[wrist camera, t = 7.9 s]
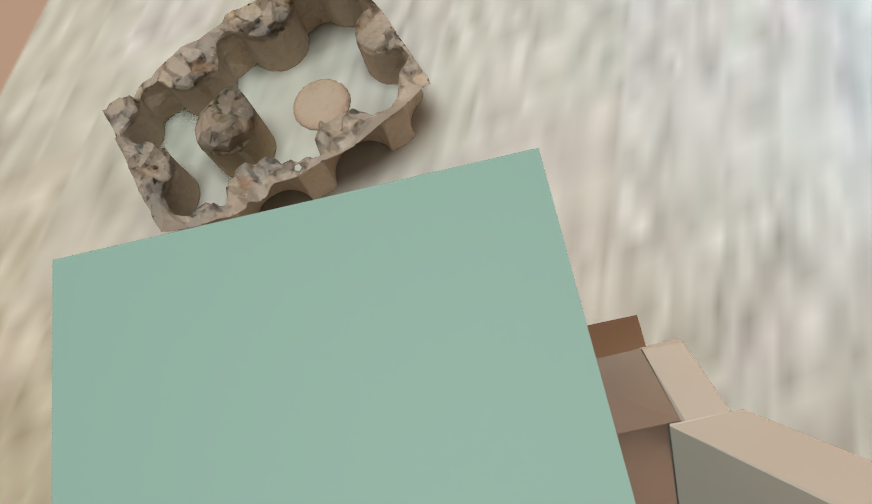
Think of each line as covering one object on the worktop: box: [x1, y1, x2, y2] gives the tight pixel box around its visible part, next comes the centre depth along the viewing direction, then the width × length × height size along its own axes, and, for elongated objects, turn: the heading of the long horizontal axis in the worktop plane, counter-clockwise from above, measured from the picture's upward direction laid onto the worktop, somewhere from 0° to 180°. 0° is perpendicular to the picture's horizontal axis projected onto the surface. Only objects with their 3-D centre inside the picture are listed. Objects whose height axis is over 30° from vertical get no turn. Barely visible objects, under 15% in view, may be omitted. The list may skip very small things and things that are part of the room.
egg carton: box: [103, 0, 430, 232], centre depth 27 cm, size 11×8×4 cm
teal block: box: [52, 148, 636, 504], centre depth 10 cm, size 4×4×10 cm
